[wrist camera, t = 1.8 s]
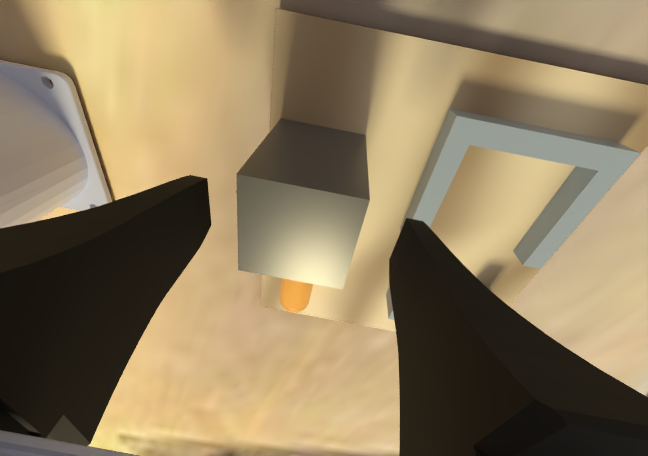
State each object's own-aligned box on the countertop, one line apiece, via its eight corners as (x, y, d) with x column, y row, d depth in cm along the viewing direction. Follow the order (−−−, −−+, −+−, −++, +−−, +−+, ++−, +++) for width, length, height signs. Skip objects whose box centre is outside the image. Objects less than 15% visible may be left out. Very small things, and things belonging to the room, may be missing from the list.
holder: (399, 229, 16) (402, 242, 15) (449, 108, 12) (456, 116, 11) (529, 254, 16) (540, 268, 15) (619, 142, 12) (641, 152, 12)
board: (262, 302, 22) (260, 306, 22) (278, 8, 11) (275, 8, 11) (472, 341, 22) (474, 346, 22) (682, 92, 12) (691, 94, 11)
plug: (268, 290, 20) (240, 374, 16) (280, 117, 13) (236, 174, 8) (323, 300, 20) (312, 387, 16) (365, 135, 13) (369, 199, 8)
